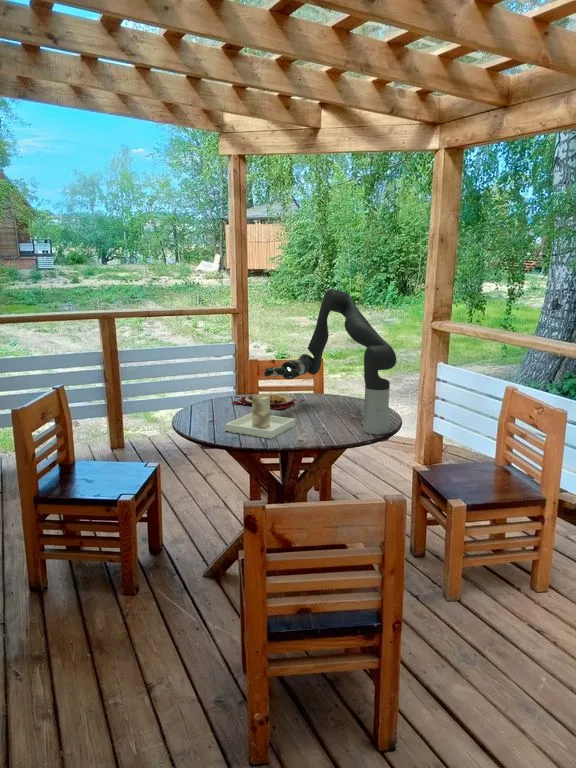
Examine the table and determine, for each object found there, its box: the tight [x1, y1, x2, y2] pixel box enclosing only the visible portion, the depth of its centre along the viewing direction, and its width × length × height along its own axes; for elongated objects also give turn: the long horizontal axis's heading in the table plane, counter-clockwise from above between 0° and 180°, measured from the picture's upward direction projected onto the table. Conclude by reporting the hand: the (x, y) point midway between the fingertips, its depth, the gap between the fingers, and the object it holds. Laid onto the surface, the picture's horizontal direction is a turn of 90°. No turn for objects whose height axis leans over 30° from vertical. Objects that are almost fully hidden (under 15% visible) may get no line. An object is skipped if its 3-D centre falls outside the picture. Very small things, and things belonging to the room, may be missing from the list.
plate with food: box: [232, 393, 306, 410], centre depth 259 cm, size 25×26×4 cm
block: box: [251, 396, 271, 429], centre depth 213 cm, size 5×5×12 cm
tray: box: [224, 412, 296, 440], centre depth 215 cm, size 20×20×3 cm
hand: (274, 374), depth 220 cm, fingers open, 8 cm apart
